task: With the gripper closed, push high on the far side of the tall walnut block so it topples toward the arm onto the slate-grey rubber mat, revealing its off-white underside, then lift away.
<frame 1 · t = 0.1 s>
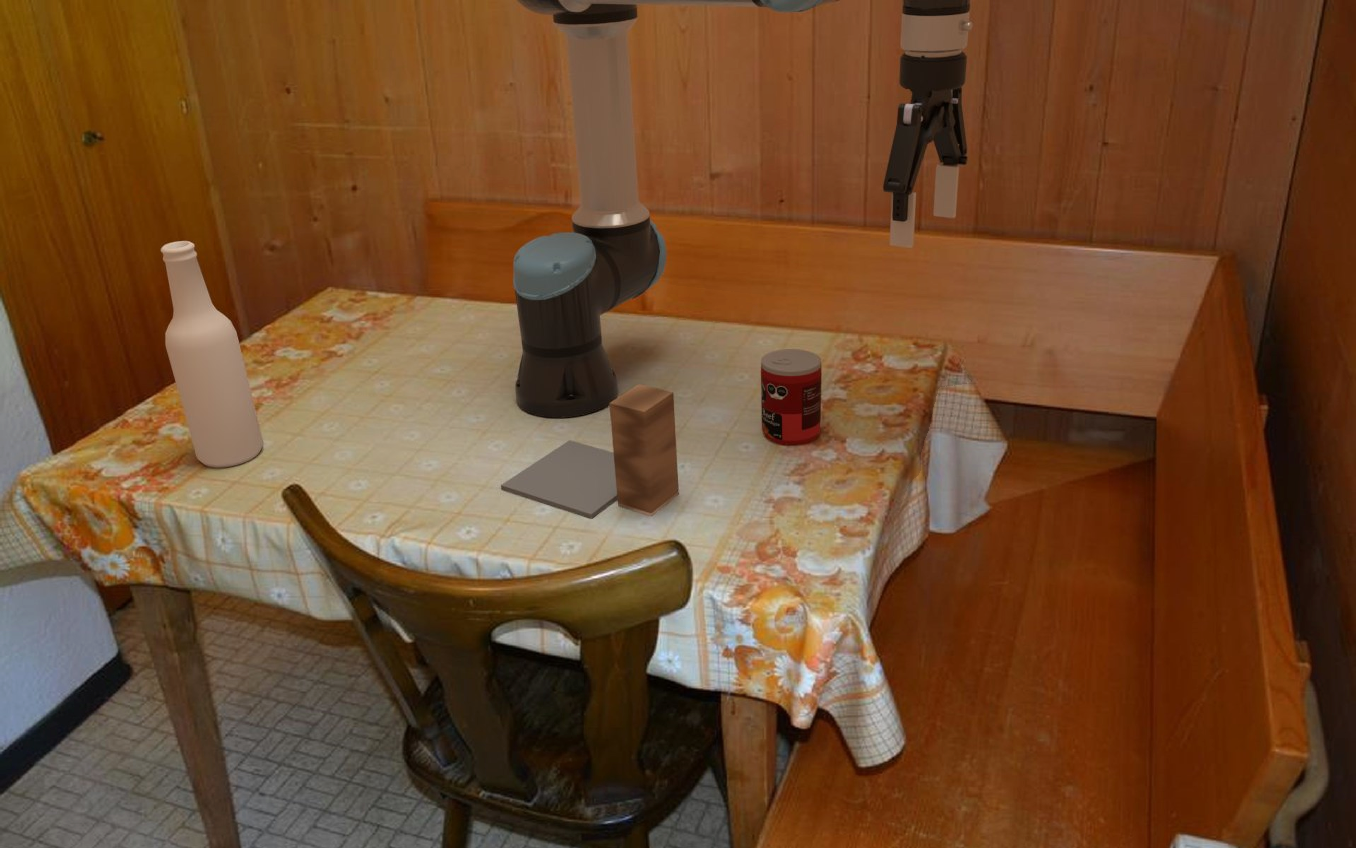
hand: (923, 230, 136), 28 cm above the table, fingers open, 13 cm apart
walnut block: (648, 499, 136), on the table
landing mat: (580, 478, 141), on the table
alcohol: (231, 455, 152), on the table
canned food: (791, 435, 150), on the table
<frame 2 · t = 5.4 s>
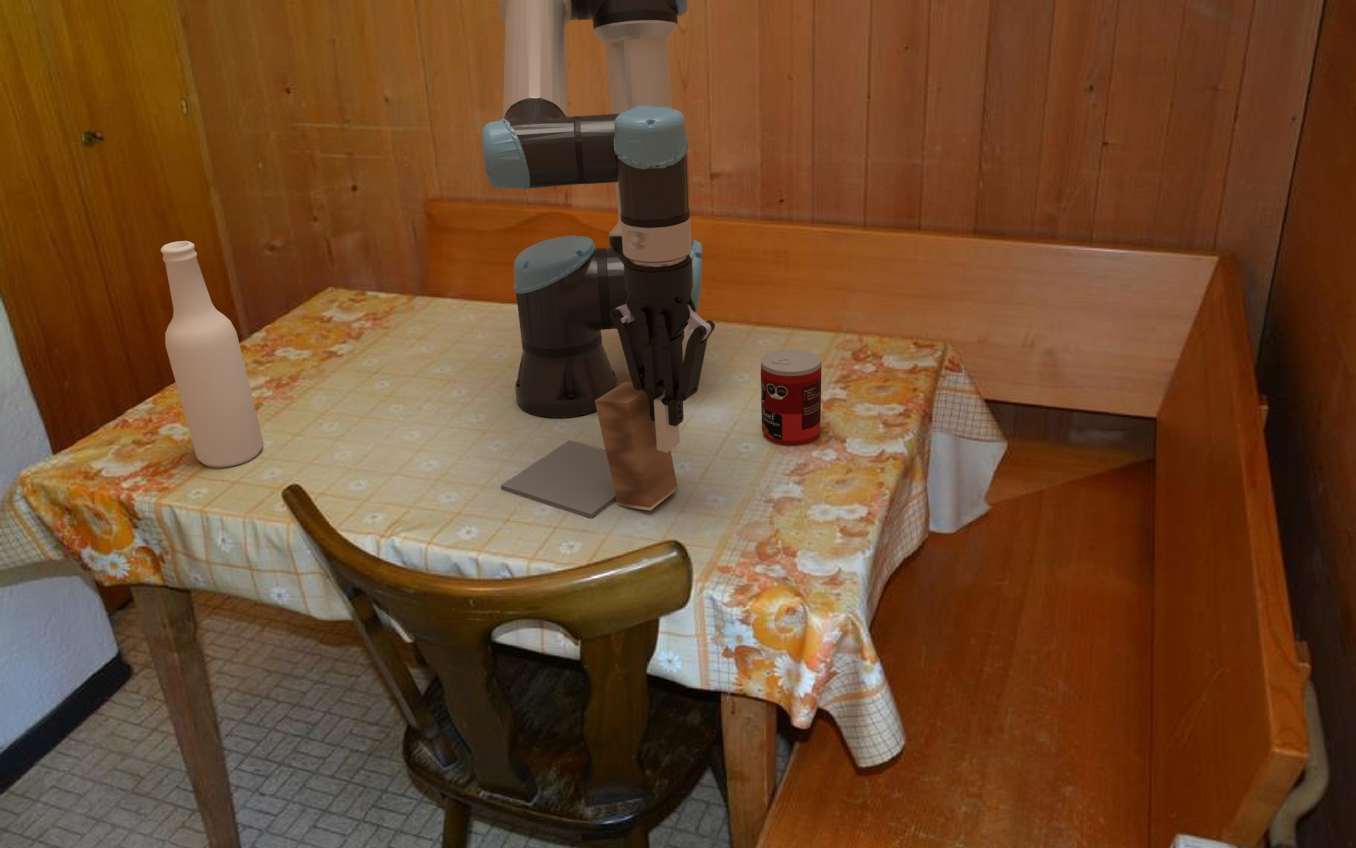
hand: (668, 446, 130), 8 cm above the table, fingers closed
walnut block: (648, 497, 136), on the table, tilted 9°, touching gripper
everything else where it was.
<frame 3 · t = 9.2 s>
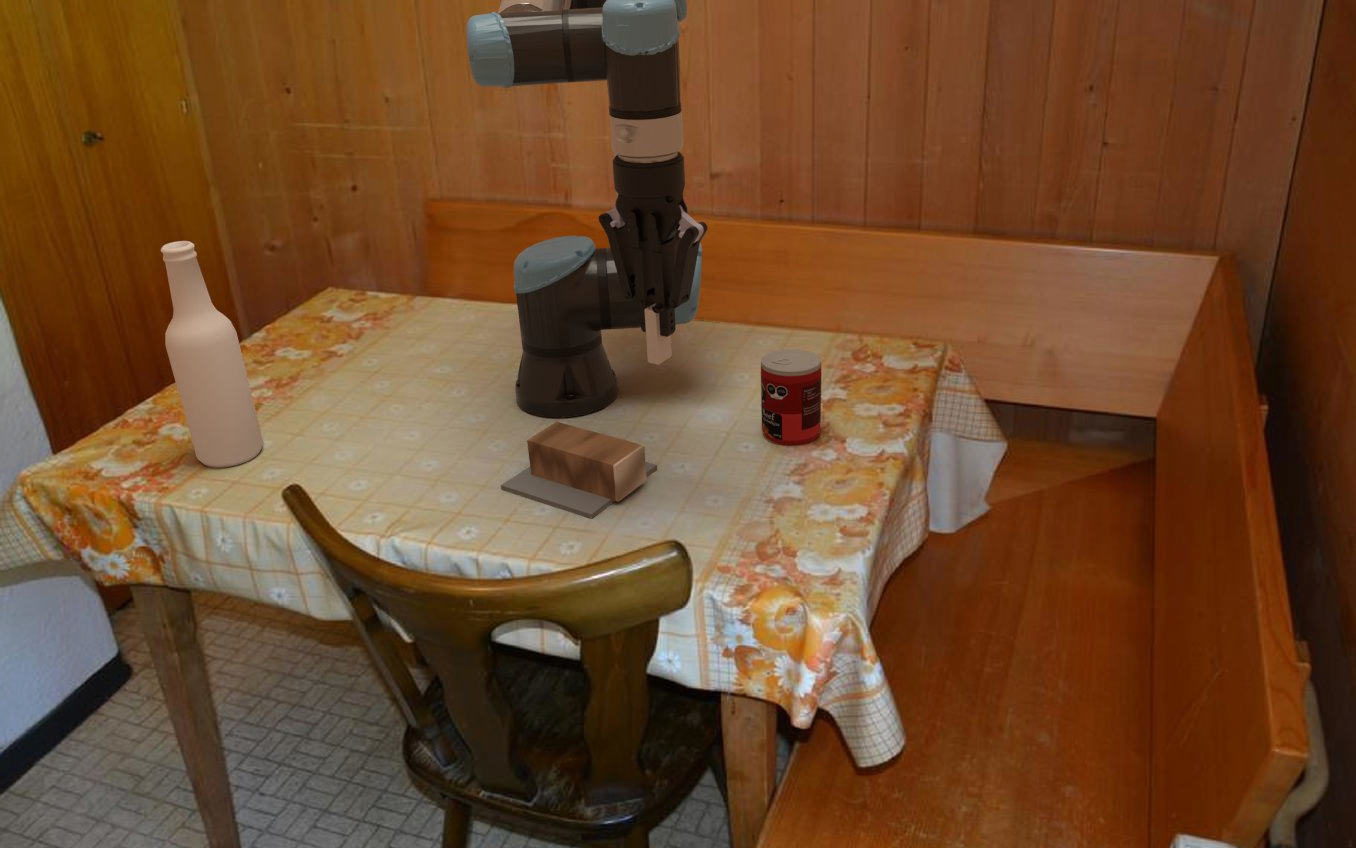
hand: (659, 359, 126), 19 cm above the table, fingers closed
walnut block: (631, 473, 135), point 3 cm above the table, tilted 90°, touching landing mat
everything else where it was.
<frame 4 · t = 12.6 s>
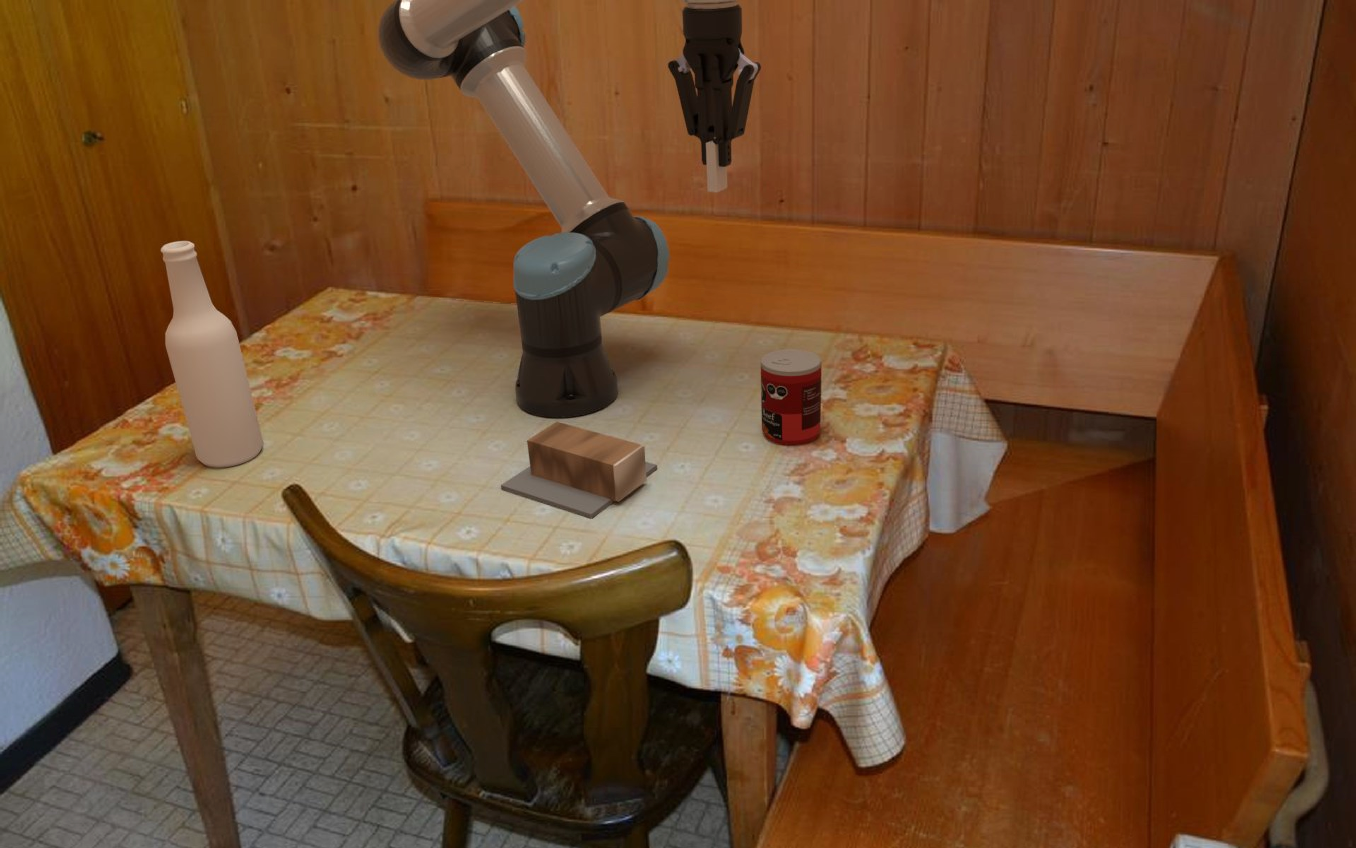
hand: (717, 189, 149), 30 cm above the table, fingers closed
nothing on the table moved.
at the end: walnut block tilted 90°; walnut block touching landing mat; walnut block inside the target area (0.8 cm from its centre), point 3.1 cm above the table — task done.
